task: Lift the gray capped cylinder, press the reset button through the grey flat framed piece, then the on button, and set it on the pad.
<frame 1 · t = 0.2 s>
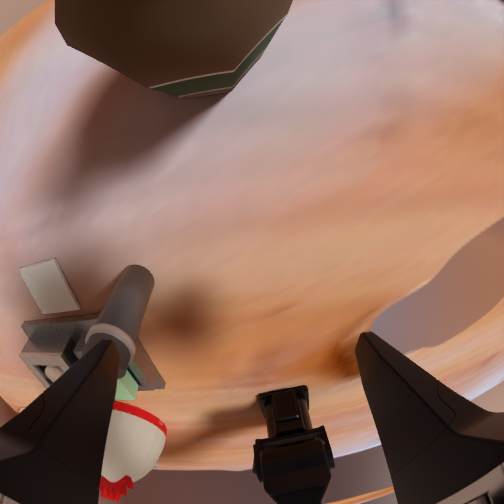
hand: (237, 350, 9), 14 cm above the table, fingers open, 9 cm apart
beer bottle: (204, 52, 16), on the table
pad: (48, 287, 24), on the table
kitchen timer: (126, 420, 37), on the table
on button: (110, 380, 25), point 4 cm above the table, slide at 0.0 cm
grey flat framed piece: (90, 354, 28), on the table
gray capped cylinder: (137, 280, 24), on the table
reset button: (58, 373, 26), point 3 cm above the table, slide at 0.0 cm
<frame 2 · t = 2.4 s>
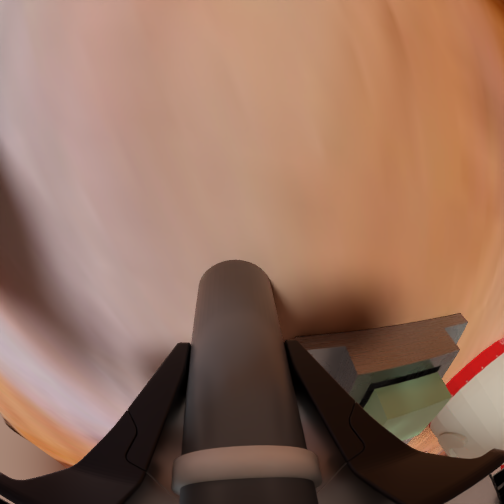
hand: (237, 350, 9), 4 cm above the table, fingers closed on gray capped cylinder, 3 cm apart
kitchen timer: (473, 380, 22), on the table
on button: (400, 415, 12), point 4 cm above the table, slide at 0.0 cm
grey flat framed piece: (357, 401, 18), on the table
gray capped cylinder: (234, 291, 12), on the table, touching gripper
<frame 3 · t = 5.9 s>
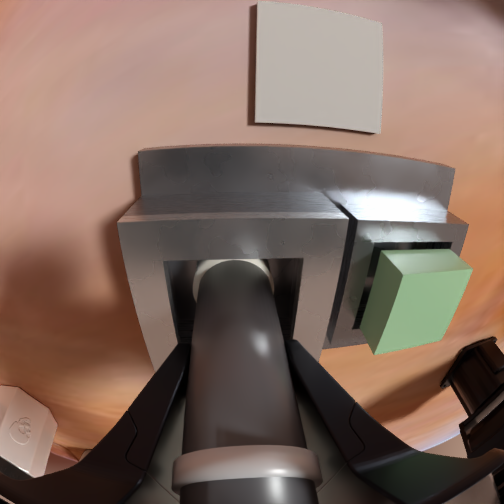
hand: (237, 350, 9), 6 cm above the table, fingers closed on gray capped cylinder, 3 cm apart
jar: (29, 404, 22), on the table
pad: (321, 65, 10), on the table
on button: (416, 300, 12), point 4 cm above the table, slide at 0.0 cm
grey flat framed piece: (307, 260, 15), on the table
gray capped cylinder: (234, 291, 12), point 3 cm above the table, touching gripper, reset button
reset button: (233, 282, 13), point 2 cm above the table, slide at 1.4 cm, touching gray capped cylinder
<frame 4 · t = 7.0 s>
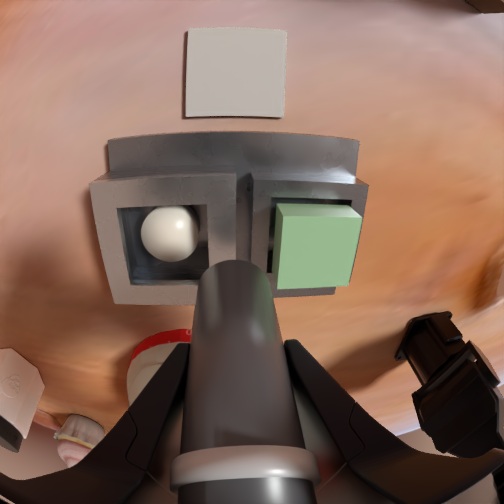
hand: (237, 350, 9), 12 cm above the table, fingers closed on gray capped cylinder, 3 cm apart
cupcake: (87, 422, 33), on the table
jar: (20, 366, 26), on the table
pad: (236, 70, 15), on the table
kitchen timer: (196, 374, 27), on the table
on button: (314, 246, 16), point 4 cm above the table, slide at 0.0 cm
grey flat framed piece: (233, 219, 19), on the table
gray capped cylinder: (233, 291, 12), point 8 cm above the table, touching gripper
reset button: (170, 231, 17), point 2 cm above the table, slide at 1.4 cm
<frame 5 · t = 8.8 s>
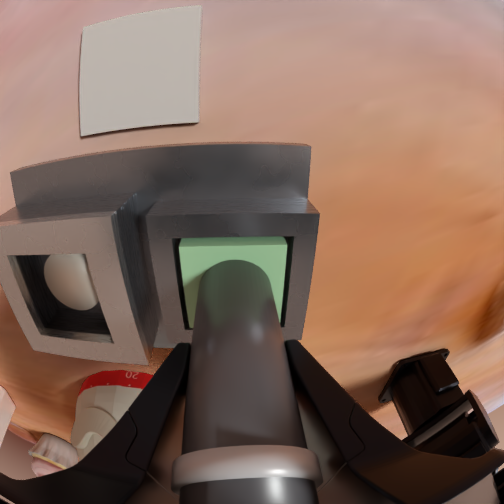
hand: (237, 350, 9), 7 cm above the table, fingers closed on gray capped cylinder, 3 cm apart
cupcake: (61, 441, 29), on the table
pad: (137, 68, 10), on the table
kitchen timer: (149, 411, 23), on the table
on button: (233, 278, 13), point 2 cm above the table, slide at 2.0 cm, touching gray capped cylinder
grey flat framed piece: (150, 257, 15), on the table
gray capped cylinder: (234, 291, 12), point 3 cm above the table, touching gripper, on button
reset button: (76, 275, 13), point 2 cm above the table, slide at 1.4 cm
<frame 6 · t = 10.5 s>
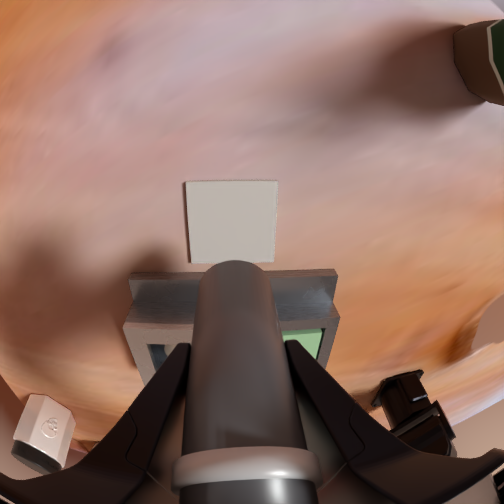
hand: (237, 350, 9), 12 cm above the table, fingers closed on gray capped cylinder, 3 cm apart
jar: (53, 407, 31), on the table
beer bottle: (476, 62, 14), on the table
pad: (232, 222, 20), on the table
on button: (289, 345, 23), point 2 cm above the table, slide at 2.0 cm
grey flat framed piece: (234, 330, 24), on the table
gray capped cylinder: (234, 291, 12), point 8 cm above the table, touching gripper
reset button: (186, 345, 22), point 2 cm above the table, slide at 1.4 cm
when the fingers open (4 cm above the table, at t = 12.0 s): gray capped cylinder stays where it is, resting on pad.
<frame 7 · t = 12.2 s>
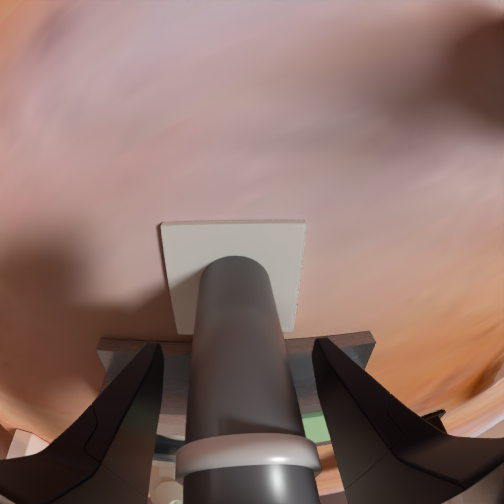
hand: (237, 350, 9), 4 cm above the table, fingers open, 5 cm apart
jar: (41, 442, 25), on the table
pad: (234, 281, 13), on the table
kitchen timer: (206, 467, 26), on the table
on button: (307, 420, 16), point 2 cm above the table, slide at 2.0 cm
grey flat framed piece: (237, 399, 18), on the table
gray capped cylinder: (234, 286, 13), resting on pad
reset button: (178, 421, 16), point 2 cm above the table, slide at 1.4 cm
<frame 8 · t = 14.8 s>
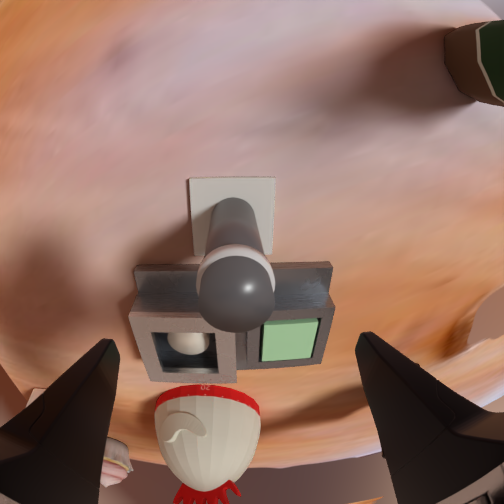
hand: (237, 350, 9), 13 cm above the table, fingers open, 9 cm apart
cupcake: (113, 442, 39), on the table
beer bottle: (467, 63, 15), on the table
pad: (232, 216, 21), on the table
kitchen timer: (207, 411, 33), on the table
on button: (287, 335, 24), point 2 cm above the table, slide at 2.0 cm
grey flat framed piece: (234, 320, 25), on the table
gray capped cylinder: (232, 218, 21), resting on pad
reset button: (188, 335, 24), point 2 cm above the table, slide at 1.4 cm
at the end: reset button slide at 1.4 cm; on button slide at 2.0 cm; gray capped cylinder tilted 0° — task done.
